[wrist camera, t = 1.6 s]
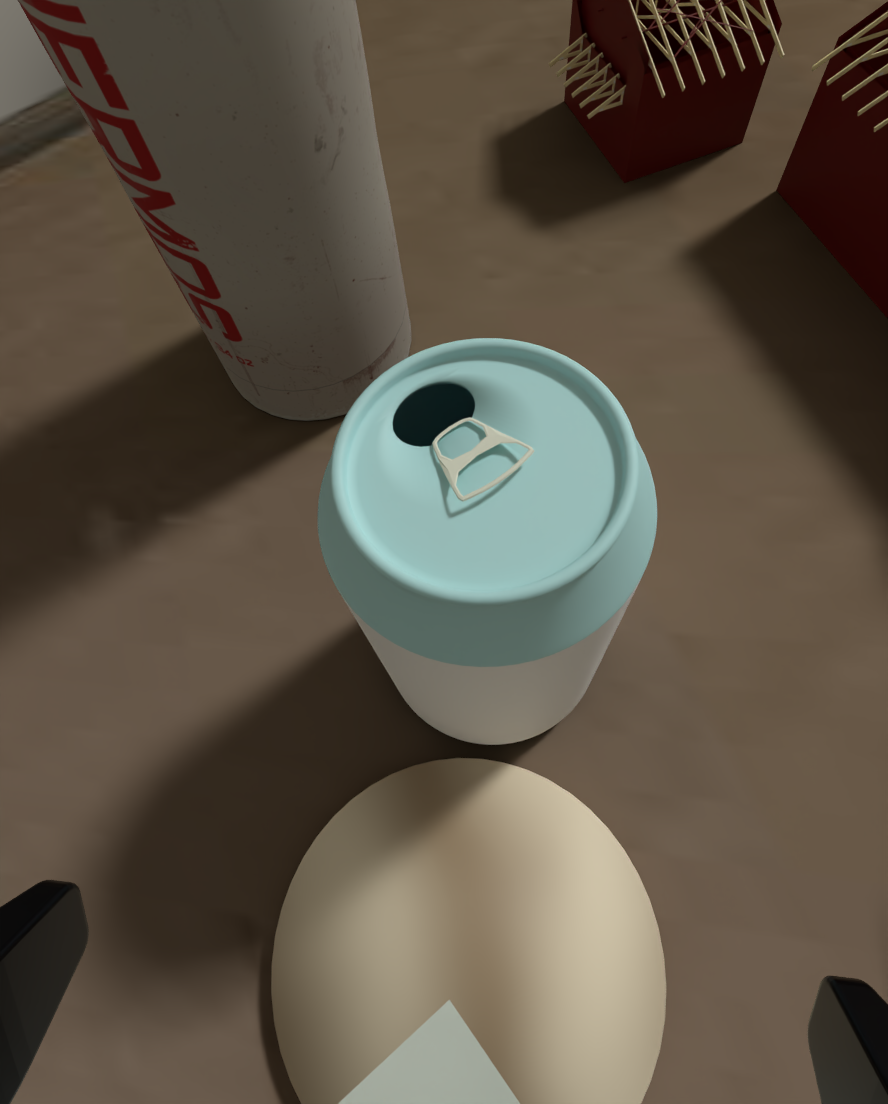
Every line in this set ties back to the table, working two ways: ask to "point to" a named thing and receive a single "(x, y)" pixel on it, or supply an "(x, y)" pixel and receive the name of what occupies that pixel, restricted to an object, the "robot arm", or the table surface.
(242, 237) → the thermos bottle
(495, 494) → the can
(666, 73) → the toy houses
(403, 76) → the table surface
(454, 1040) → the square grey-green coaster
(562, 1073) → the round birch coaster
